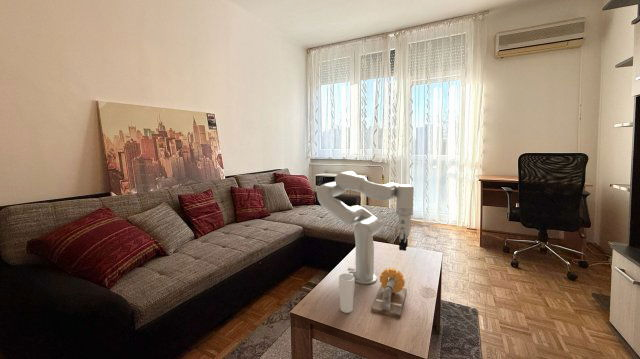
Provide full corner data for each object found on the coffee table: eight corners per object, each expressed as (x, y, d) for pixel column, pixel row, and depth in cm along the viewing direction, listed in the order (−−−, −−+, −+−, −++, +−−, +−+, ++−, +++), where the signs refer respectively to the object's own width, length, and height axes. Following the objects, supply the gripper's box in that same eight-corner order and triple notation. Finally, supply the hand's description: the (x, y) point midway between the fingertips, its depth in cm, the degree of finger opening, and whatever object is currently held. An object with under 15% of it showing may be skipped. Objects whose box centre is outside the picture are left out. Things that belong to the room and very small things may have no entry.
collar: (379, 290, 132) (380, 268, 130) (380, 288, 133) (381, 266, 132) (403, 295, 127) (404, 272, 126) (404, 292, 129) (405, 270, 127)
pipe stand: (371, 311, 118) (371, 291, 117) (381, 286, 138) (381, 269, 137) (400, 318, 114) (400, 297, 112) (406, 291, 134) (407, 273, 132)
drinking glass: (344, 303, 124) (344, 271, 122) (357, 309, 120) (357, 276, 118) (335, 310, 119) (335, 277, 117) (348, 316, 115) (348, 282, 113)
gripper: (410, 216, 121) (409, 256, 123) (414, 207, 136) (413, 243, 139) (393, 214, 124) (392, 253, 126) (398, 206, 139) (397, 241, 142)
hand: (403, 247), depth 132 cm, fingers open, 4 cm apart
